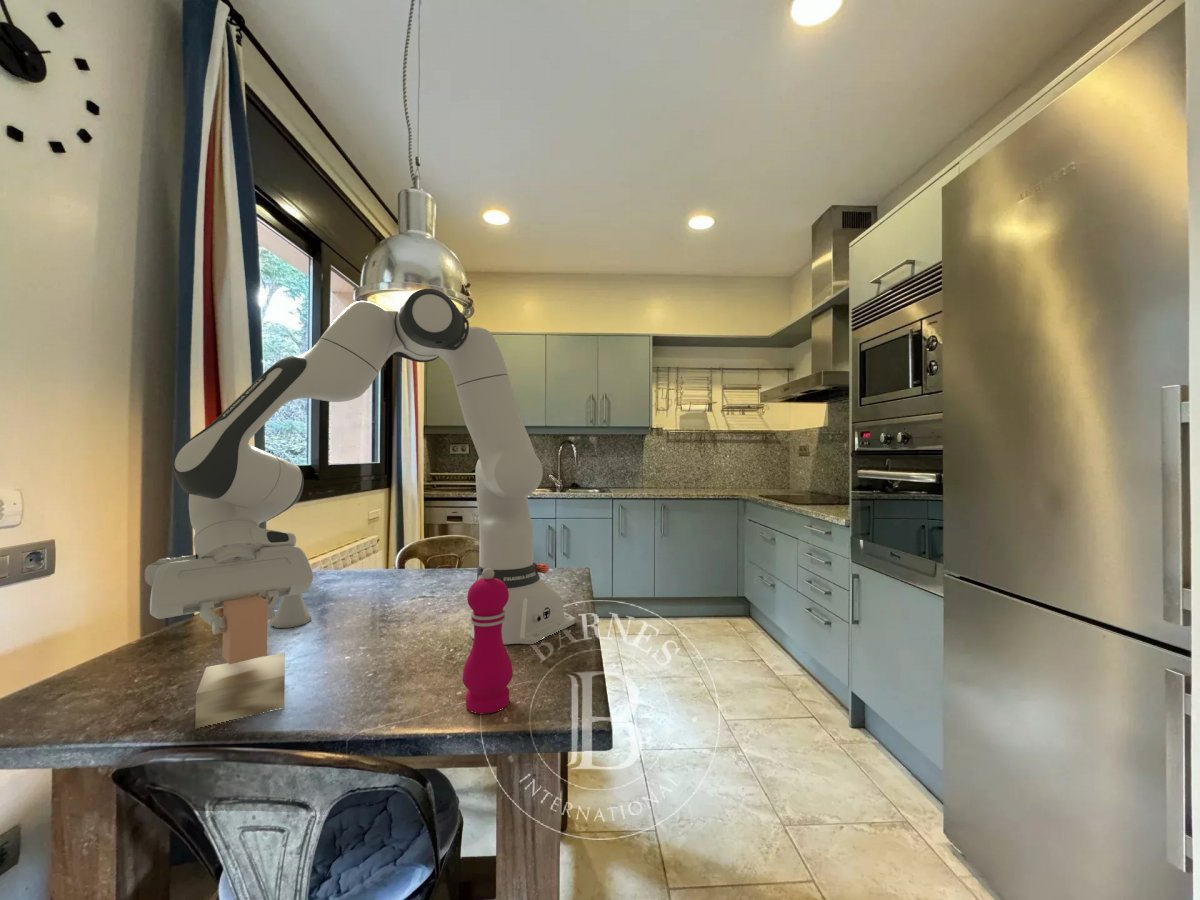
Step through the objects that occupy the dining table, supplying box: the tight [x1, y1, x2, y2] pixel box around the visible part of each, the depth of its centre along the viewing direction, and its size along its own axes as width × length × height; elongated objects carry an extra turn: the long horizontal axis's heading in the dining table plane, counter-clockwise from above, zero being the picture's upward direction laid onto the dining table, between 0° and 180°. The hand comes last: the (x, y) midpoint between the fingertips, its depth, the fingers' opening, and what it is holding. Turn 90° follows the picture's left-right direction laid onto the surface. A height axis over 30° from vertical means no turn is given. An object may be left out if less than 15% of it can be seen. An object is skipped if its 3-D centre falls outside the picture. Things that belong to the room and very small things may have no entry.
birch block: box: [194, 652, 286, 730], centre depth 72 cm, size 10×10×5 cm
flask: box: [270, 594, 312, 629], centre depth 108 cm, size 7×7×10 cm
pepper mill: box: [461, 568, 514, 714], centre depth 72 cm, size 7×7×20 cm
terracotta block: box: [221, 596, 269, 665], centre depth 72 cm, size 4×4×8 cm
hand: (245, 626), depth 72 cm, fingers closed on terracotta block, 4 cm apart
